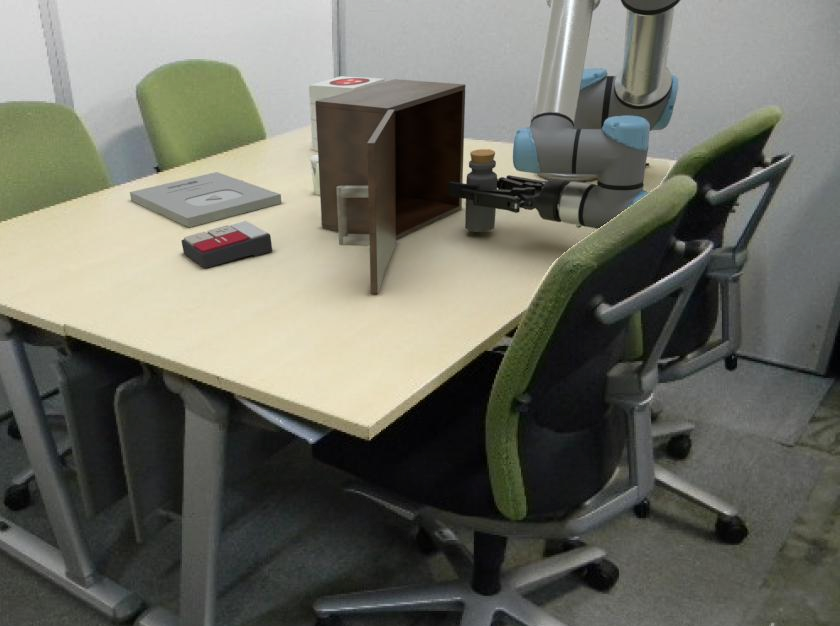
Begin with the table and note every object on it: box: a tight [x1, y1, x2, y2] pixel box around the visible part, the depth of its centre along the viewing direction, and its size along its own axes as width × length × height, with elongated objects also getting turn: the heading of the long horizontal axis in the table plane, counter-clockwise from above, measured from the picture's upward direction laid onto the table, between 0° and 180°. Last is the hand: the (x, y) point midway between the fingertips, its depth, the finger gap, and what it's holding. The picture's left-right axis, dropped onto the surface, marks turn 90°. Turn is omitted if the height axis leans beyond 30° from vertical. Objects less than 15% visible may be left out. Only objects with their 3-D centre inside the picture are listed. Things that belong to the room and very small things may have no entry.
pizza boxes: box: [308, 75, 386, 152], centre depth 233 cm, size 19×30×18 cm, turn 31°
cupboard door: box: [337, 110, 397, 295], centre depth 153 cm, size 7×26×26 cm, turn 168°
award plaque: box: [129, 171, 282, 228], centre depth 204 cm, size 25×30×2 cm
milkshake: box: [309, 154, 320, 196], centre depth 202 cm, size 5×5×10 cm
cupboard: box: [315, 78, 466, 241], centre depth 177 cm, size 18×26×26 cm
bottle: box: [464, 148, 498, 233], centre depth 167 cm, size 6×6×15 cm
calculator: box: [181, 220, 273, 269], centre depth 170 cm, size 11×4×15 cm
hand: (459, 184), depth 170 cm, fingers closed on bottle, 6 cm apart
